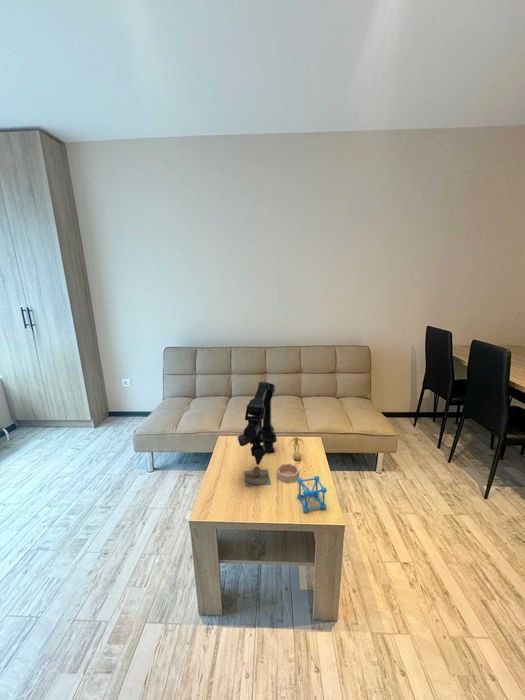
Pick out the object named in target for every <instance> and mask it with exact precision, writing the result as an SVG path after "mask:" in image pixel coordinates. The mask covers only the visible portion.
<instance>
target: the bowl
mask: <svg viewBox="0 0 525 700" xmlns="http://www.w3.org/2000/svg"><path fill="white" fill-rule="evenodd" d="M276 475H277V479H278V480H279V481H280V482H283V483H284V484H290V483H292V484H293V483H295V482H297V480H298V478H300V470H299V467H298V466H297V465H295V464H294V463H293V464H292V463H282V464H280V465H279V466H278V467H277V468H276Z"/></svg>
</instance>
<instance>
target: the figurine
mask: <svg viewBox="0 0 525 700" xmlns="http://www.w3.org/2000/svg"><path fill="white" fill-rule="evenodd" d="M293 441H294V444H293V447H294V454H293V459H294V460H296V461H299V460H301V458H302V454H301V453H300V443H299V441H301V443H302V444H303V446H305V443H304V440H303V439H302V438H299V437H298V436H295V437H294V438H293V439H291V440H290V441H289V444H288V447H291V443H292V442H293Z"/></svg>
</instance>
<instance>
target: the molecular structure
mask: <svg viewBox="0 0 525 700" xmlns="http://www.w3.org/2000/svg"><path fill="white" fill-rule="evenodd" d="M320 480H321V478H320V476H319V475H314V477H313V478H312V477H310V478H306V479H304V478H303V479H302V478H301V477H299V478H298V480H297V481H296V482H297V483H298V494H297V495H296V496H297V497H296V498H297V499H298V500H300V502H301V504H302V511H303V512H304V513H308V512H309V511H310V510H314V509H315V510H317V509H322V510H326V508H327V505H326V503H325V499H326V498H325V497H326V495H325V494H326V493H327V491H328V490H327V488H326V486H323V484H322V483H321V481H320ZM308 481H314V483H313V486H312V488H311V490H310V489H309V488H308V487H307V486H306V484H305V483H304V482H308ZM318 485H319V486H320V488H321V489H318V488H319V487H318ZM301 487H302V488H301ZM302 489H303V491H302ZM301 491H302V492H301ZM301 493H302V494H301ZM320 493H322V500H321V498H320ZM312 497H313V498H314V499H315V500H316V501H317V502H318V504H319V505H317V506H311V507H309V504H310V502H311V498H312ZM303 498H304V500H303Z"/></svg>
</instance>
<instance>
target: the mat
mask: <svg viewBox="0 0 525 700" xmlns="http://www.w3.org/2000/svg"><path fill="white" fill-rule="evenodd" d="M263 470H264V471H266V472H267V473H268V481H267V482H266V483H264V484H262V485H252V484H249V483H248V482H247V481H246V474H247V472H249V471H250V470H245V471H243V477H244V485H245V488H251V487H252V488H253V487H262V486H272V481H271V478H270V474H269V473H270V472H269V470H268V468H266V469H263Z"/></svg>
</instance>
